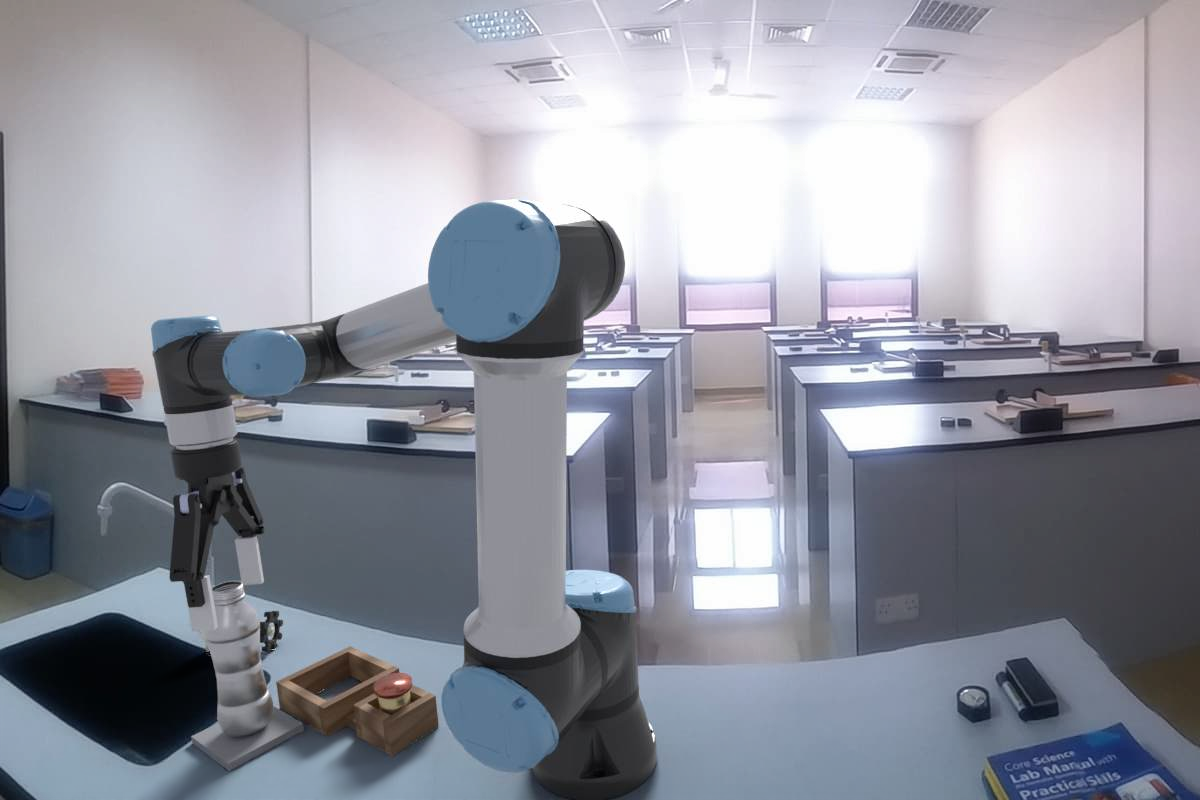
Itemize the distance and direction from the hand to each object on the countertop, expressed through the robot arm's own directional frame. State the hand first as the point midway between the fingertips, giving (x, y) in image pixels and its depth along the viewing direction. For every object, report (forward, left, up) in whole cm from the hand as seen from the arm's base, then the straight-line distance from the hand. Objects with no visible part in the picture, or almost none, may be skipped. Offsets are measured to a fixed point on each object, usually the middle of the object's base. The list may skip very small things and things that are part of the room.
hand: (230, 605), depth 98 cm
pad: (0, 0, -19) cm, 19 cm away
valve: (+25, -11, -19) cm, 34 cm away
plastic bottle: (0, 0, -18) cm, 18 cm away
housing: (-8, -12, -19) cm, 23 cm away
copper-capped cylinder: (-16, -12, -18) cm, 27 cm away
